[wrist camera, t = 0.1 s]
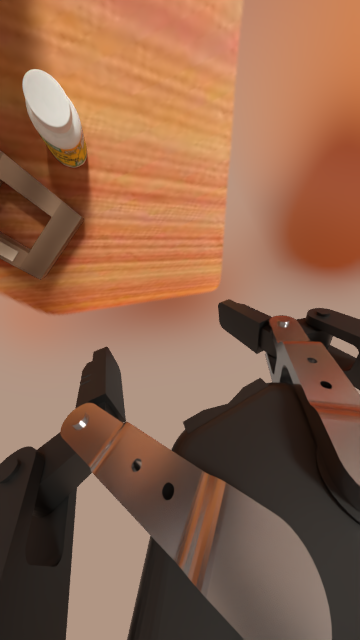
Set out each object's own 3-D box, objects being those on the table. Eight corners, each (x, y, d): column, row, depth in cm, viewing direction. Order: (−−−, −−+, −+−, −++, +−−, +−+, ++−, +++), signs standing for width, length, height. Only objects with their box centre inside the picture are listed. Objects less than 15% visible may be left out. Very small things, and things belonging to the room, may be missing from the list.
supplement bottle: (86, 130, 24) (76, 77, 17) (88, 174, 27) (80, 145, 19) (41, 112, 22) (6, 40, 14) (48, 161, 24) (20, 122, 16)
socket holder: (-59, 219, 23) (-81, 216, 20) (-14, 139, 21) (-30, 125, 19) (45, 276, 30) (39, 279, 27) (84, 219, 29) (81, 216, 26)
